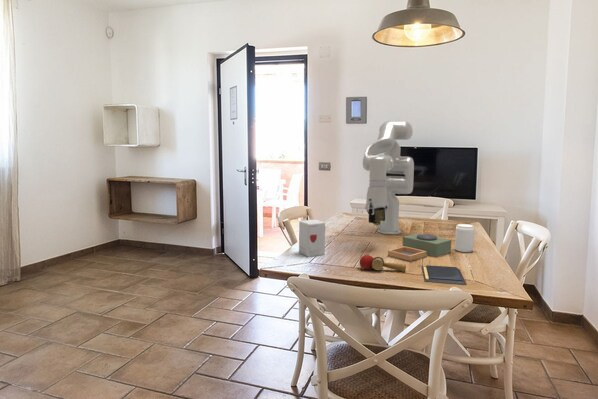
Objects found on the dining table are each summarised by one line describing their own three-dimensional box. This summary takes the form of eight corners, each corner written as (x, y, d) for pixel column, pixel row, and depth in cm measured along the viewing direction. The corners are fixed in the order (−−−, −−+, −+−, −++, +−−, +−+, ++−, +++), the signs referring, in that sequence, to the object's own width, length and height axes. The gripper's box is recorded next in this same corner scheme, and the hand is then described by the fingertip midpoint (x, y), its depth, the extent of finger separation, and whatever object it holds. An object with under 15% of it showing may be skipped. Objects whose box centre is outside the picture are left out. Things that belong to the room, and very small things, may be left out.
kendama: (403, 271, 169) (359, 262, 172) (406, 257, 167) (361, 249, 170) (403, 280, 162) (357, 271, 165) (406, 266, 159) (360, 257, 163)
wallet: (467, 281, 148) (422, 278, 152) (466, 287, 148) (422, 283, 152) (460, 265, 167) (421, 263, 171) (460, 270, 168) (421, 267, 171)
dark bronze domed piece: (384, 226, 191) (385, 209, 189) (368, 225, 192) (369, 208, 191) (384, 223, 198) (385, 206, 197) (369, 222, 199) (369, 206, 198)
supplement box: (307, 257, 184) (307, 224, 182) (298, 252, 192) (298, 220, 190) (325, 254, 188) (325, 222, 186) (315, 250, 196) (315, 219, 194)
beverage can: (472, 249, 198) (474, 224, 196) (473, 253, 190) (475, 227, 188) (454, 247, 200) (455, 223, 199) (454, 252, 193) (456, 226, 191)
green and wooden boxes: (382, 254, 188) (382, 239, 187) (417, 245, 205) (417, 231, 204) (416, 263, 174) (417, 247, 173) (450, 252, 192) (451, 237, 191)
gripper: (383, 181, 200) (382, 217, 203) (358, 184, 189) (358, 223, 192) (395, 182, 194) (394, 220, 197) (371, 186, 183) (370, 225, 186)
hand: (376, 221), depth 195 cm, fingers closed on dark bronze domed piece, 6 cm apart
